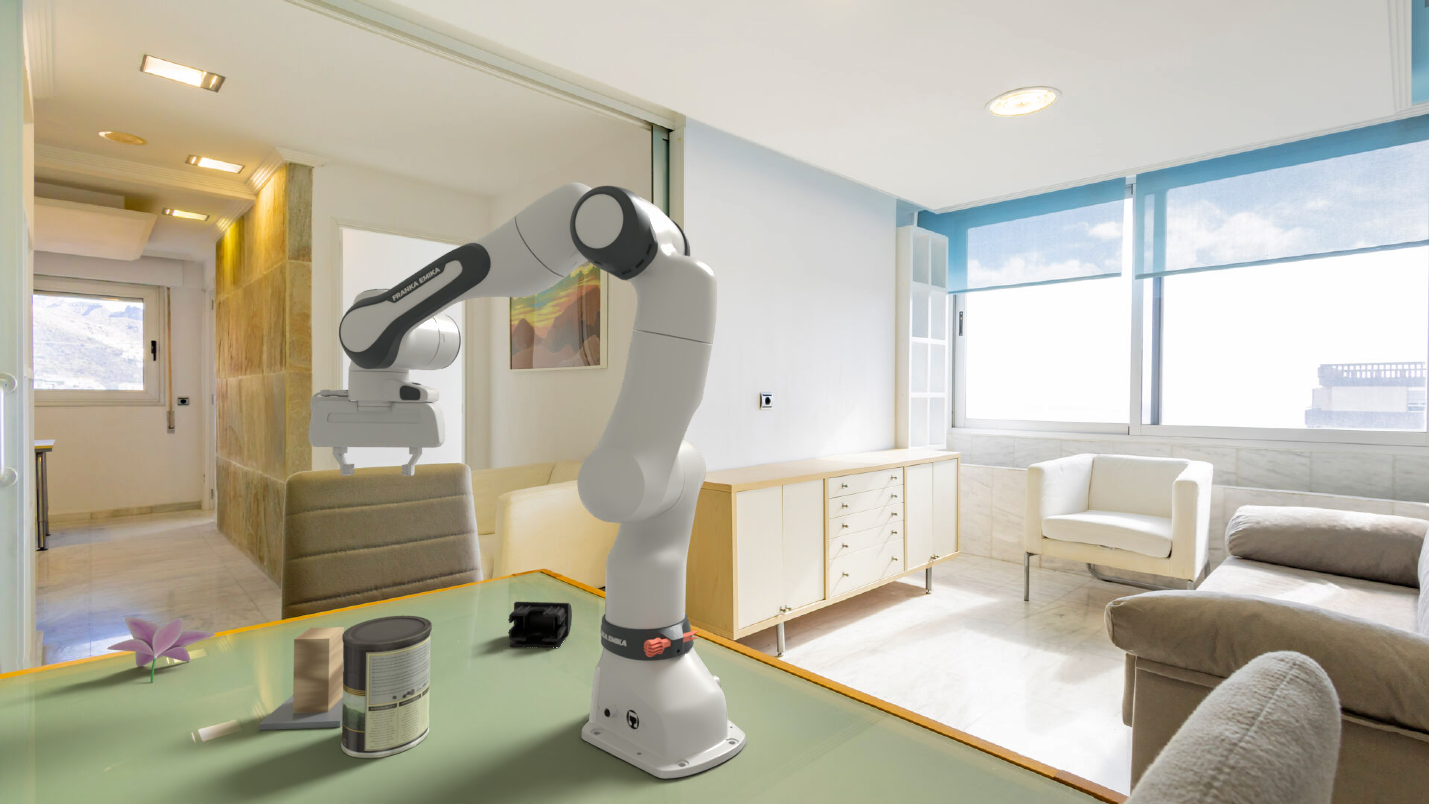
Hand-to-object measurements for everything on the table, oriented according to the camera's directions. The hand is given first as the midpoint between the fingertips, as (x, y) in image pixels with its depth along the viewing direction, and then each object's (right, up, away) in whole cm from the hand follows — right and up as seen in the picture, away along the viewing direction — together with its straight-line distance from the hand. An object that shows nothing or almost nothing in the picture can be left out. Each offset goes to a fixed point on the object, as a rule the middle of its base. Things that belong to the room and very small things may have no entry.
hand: (377, 475), depth 107 cm
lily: (-32, -31, -4) cm, 45 cm away
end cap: (+23, -32, +12) cm, 41 cm away
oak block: (0, -30, -16) cm, 34 cm away
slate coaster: (0, -31, -16) cm, 35 cm away
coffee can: (+13, -32, -22) cm, 41 cm away
